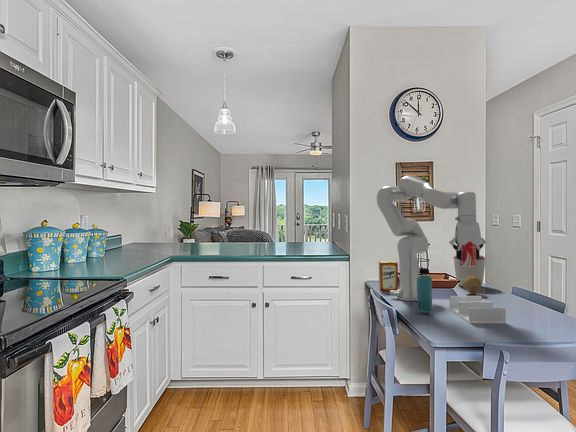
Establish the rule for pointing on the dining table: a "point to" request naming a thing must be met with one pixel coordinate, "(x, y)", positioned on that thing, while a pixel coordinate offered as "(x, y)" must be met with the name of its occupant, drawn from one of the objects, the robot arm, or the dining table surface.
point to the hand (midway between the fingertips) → (467, 259)
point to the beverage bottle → (424, 291)
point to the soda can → (468, 255)
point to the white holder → (476, 309)
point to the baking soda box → (388, 275)
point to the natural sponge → (472, 284)
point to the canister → (469, 270)
